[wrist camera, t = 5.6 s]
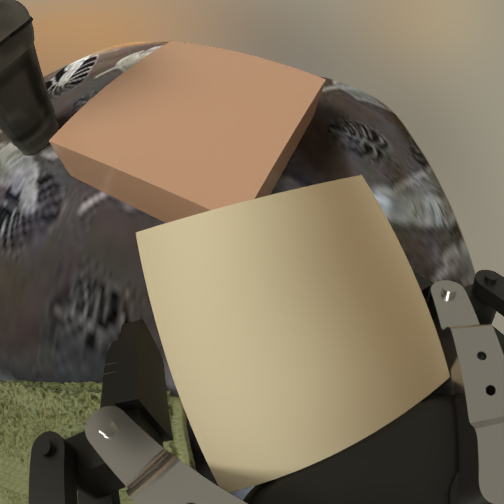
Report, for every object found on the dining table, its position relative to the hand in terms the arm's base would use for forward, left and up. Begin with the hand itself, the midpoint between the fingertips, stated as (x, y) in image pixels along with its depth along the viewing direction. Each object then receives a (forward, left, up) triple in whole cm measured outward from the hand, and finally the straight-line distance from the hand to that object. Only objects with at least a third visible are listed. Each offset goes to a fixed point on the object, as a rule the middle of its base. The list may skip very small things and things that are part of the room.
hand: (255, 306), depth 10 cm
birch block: (+1, -1, -5) cm, 5 cm away
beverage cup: (-24, +5, -5) cm, 25 cm away
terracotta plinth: (-9, +10, -5) cm, 14 cm away
